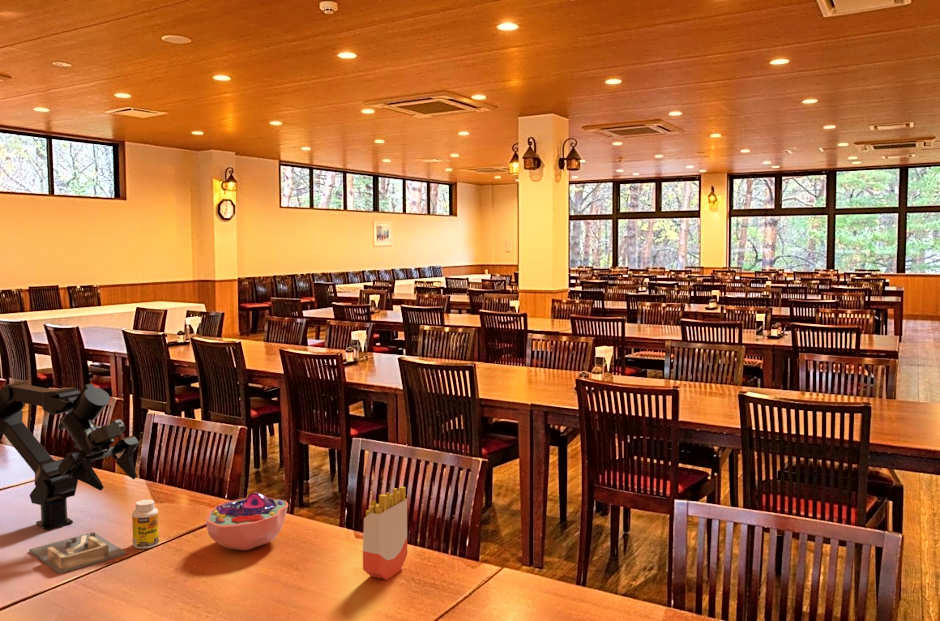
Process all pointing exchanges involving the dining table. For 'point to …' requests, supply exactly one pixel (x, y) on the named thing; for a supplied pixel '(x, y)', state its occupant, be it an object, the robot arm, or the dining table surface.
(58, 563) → the end holder
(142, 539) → the supplement bottle
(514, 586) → the dining table surface
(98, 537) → the board
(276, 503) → the cell model
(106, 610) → the dining table surface
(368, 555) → the french fries container
